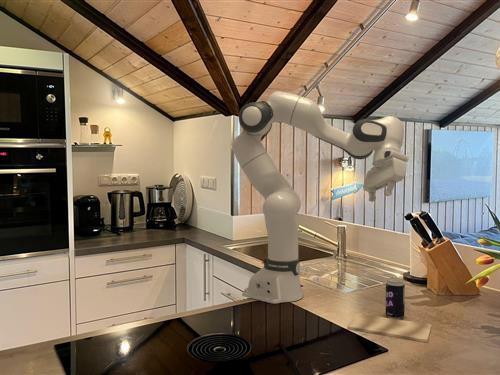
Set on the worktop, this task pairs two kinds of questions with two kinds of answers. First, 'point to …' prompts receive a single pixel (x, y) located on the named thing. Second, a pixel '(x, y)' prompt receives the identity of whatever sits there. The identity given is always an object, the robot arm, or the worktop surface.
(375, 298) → the worktop surface
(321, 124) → the robot arm
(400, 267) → the worktop surface
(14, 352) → the worktop surface
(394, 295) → the beverage can
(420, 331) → the folded beige cloth
